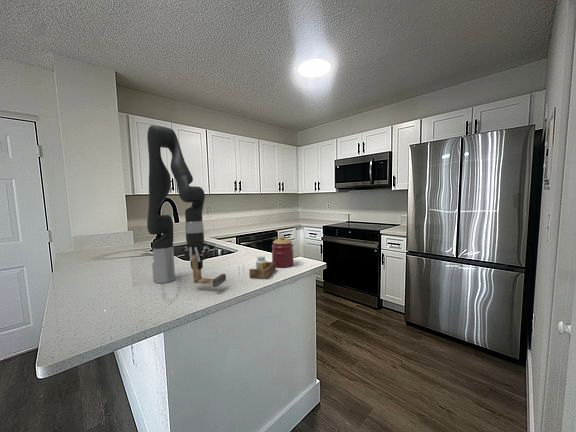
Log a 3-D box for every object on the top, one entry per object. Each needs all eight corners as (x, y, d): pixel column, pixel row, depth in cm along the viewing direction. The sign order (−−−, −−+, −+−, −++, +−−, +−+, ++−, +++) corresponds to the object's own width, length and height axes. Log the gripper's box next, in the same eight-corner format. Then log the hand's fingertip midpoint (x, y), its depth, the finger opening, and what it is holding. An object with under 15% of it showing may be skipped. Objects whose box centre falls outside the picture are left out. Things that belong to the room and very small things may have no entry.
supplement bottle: (256, 276, 128) (255, 258, 128) (256, 272, 134) (255, 255, 133) (266, 275, 129) (266, 257, 128) (266, 272, 134) (265, 254, 134)
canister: (284, 260, 157) (283, 233, 155) (298, 264, 147) (297, 235, 145) (267, 265, 148) (266, 236, 147) (281, 269, 138) (280, 238, 137)
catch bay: (249, 278, 125) (249, 269, 125) (259, 269, 140) (259, 261, 139) (267, 279, 123) (267, 270, 123) (275, 270, 138) (275, 262, 137)
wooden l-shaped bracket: (189, 285, 108) (188, 256, 107) (200, 279, 116) (198, 252, 115) (217, 286, 105) (215, 257, 104) (226, 280, 113) (224, 252, 112)
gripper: (175, 232, 108) (178, 271, 109) (204, 232, 105) (206, 272, 106) (186, 230, 115) (188, 266, 117) (213, 230, 112) (215, 267, 113)
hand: (197, 269), depth 111 cm, fingers closed on wooden l-shaped bracket, 2 cm apart
